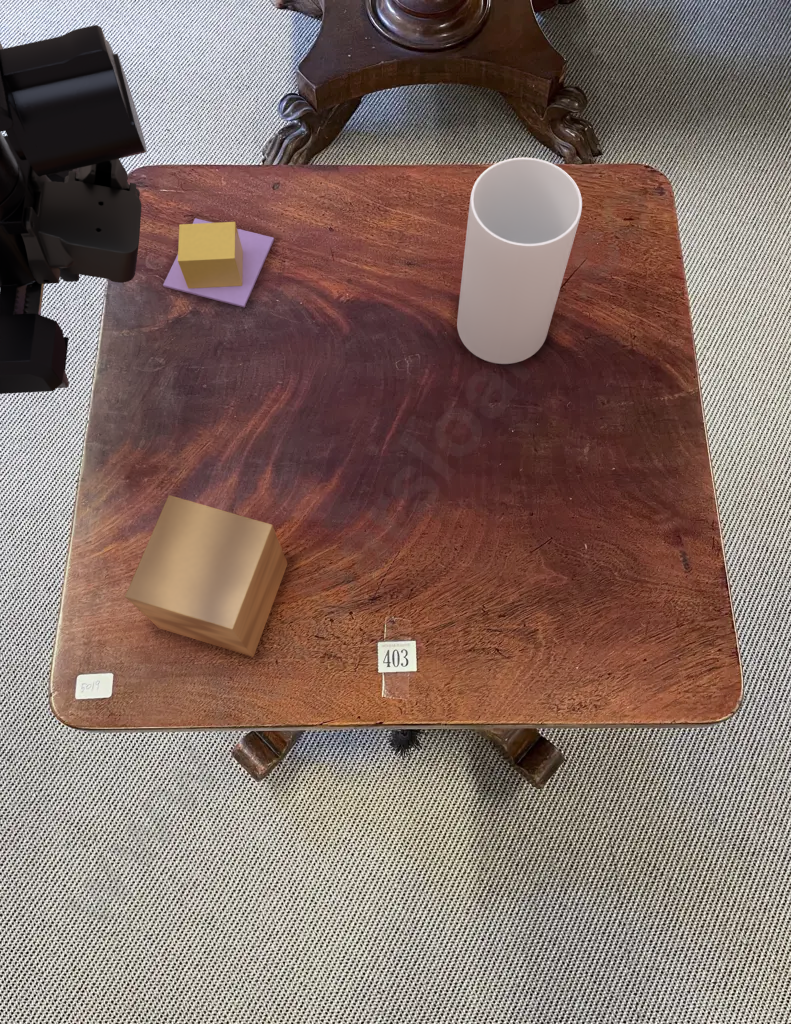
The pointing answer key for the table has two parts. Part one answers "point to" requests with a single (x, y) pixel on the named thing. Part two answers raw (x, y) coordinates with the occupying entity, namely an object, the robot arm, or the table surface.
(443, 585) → the table surface
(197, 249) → the cheese
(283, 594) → the table surface
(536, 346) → the cup
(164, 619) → the stand
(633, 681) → the table surface
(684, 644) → the table surface
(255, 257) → the towel
